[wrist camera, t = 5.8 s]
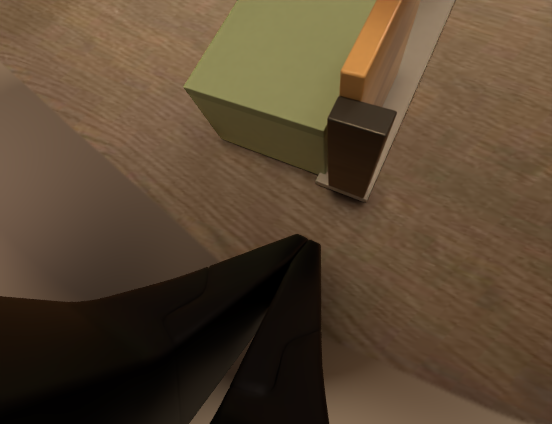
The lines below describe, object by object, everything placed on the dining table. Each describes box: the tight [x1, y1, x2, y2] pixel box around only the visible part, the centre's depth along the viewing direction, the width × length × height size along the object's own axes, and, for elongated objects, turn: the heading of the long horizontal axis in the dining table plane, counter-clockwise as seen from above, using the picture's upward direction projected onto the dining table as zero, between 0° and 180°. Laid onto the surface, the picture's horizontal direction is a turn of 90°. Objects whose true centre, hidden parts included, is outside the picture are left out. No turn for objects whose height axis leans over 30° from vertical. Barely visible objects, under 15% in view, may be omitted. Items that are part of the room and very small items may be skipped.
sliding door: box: [327, 0, 421, 198], centre depth 12 cm, size 9×2×8 cm, turn 153°
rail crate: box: [183, 0, 455, 203], centre depth 16 cm, size 18×11×5 cm, turn 153°
